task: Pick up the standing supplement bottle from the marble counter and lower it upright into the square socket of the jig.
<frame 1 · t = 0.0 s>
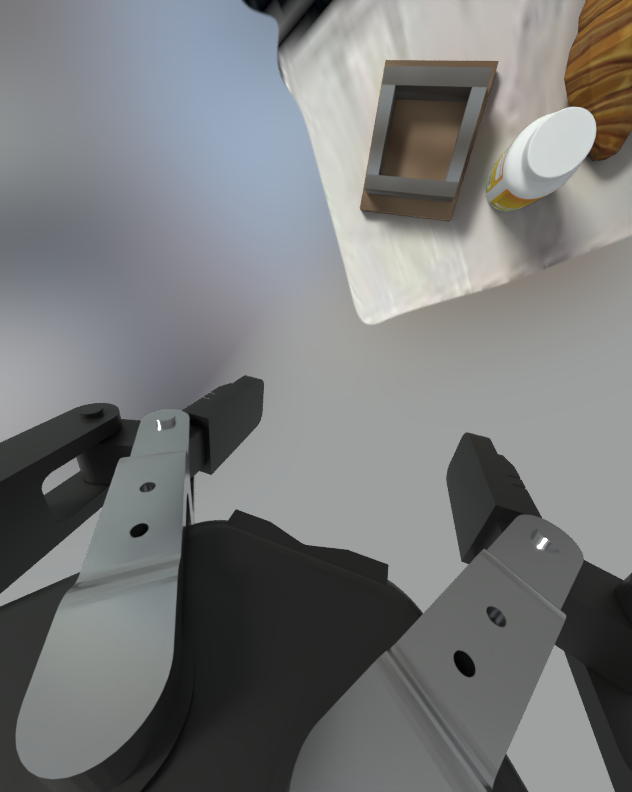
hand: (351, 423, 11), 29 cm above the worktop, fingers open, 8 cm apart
supplement bottle: (514, 181, 28), on the worktop
jig: (419, 148, 29), on the worktop
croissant: (599, 73, 24), on the worktop
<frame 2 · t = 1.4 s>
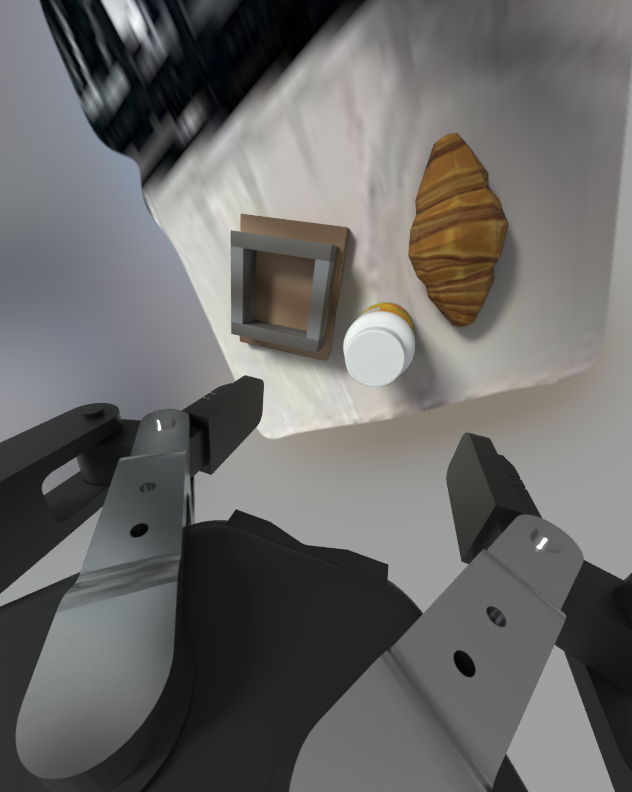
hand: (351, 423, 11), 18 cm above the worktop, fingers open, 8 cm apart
supplement bottle: (384, 330, 27), on the worktop
jig: (289, 291, 28), on the worktop
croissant: (450, 243, 23), on the worktop
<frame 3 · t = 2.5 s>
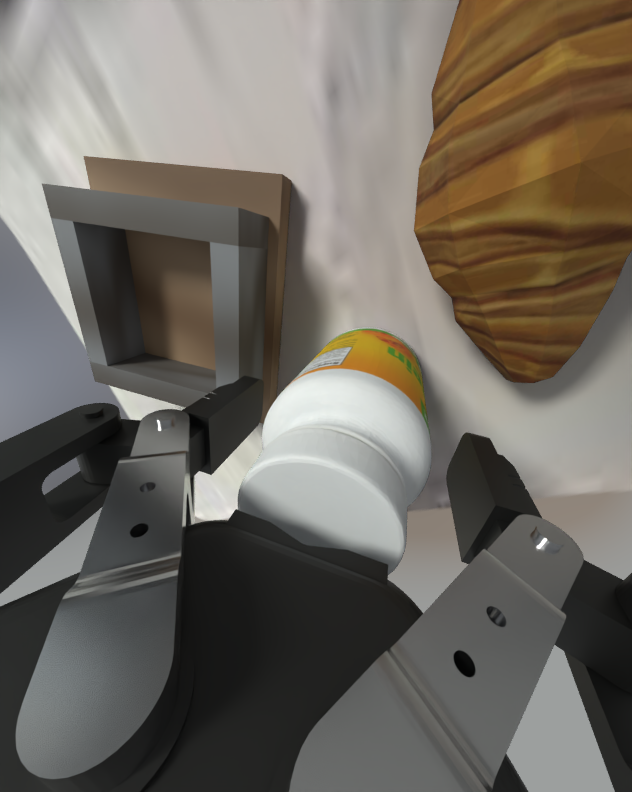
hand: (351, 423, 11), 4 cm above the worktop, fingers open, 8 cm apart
supplement bottle: (367, 375, 15), on the worktop
jig: (199, 304, 16), on the worktop
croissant: (505, 204, 11), on the worktop
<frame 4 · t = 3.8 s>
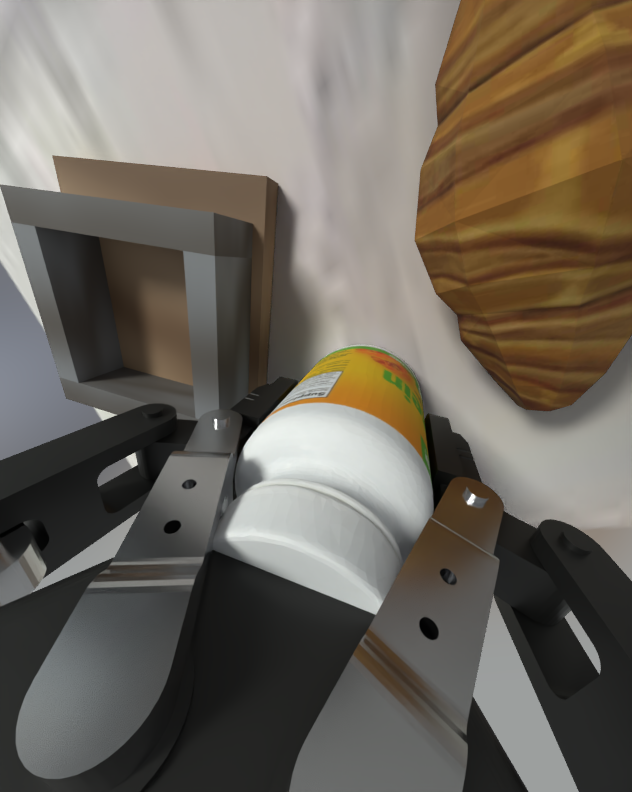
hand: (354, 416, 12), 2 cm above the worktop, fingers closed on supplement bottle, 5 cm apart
supplement bottle: (362, 395, 14), on the worktop, touching gripper
jig: (181, 316, 14), on the worktop
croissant: (517, 211, 9), on the worktop
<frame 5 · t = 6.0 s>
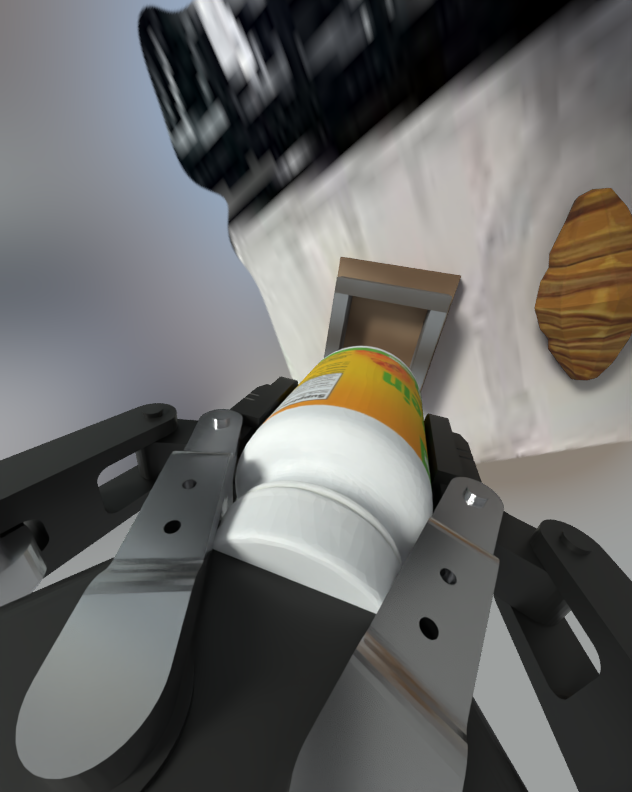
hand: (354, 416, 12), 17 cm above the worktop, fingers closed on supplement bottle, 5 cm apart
supplement bottle: (362, 396, 14), point 15 cm above the worktop, touching gripper
jig: (381, 333, 27), on the worktop
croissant: (574, 293, 22), on the worktop
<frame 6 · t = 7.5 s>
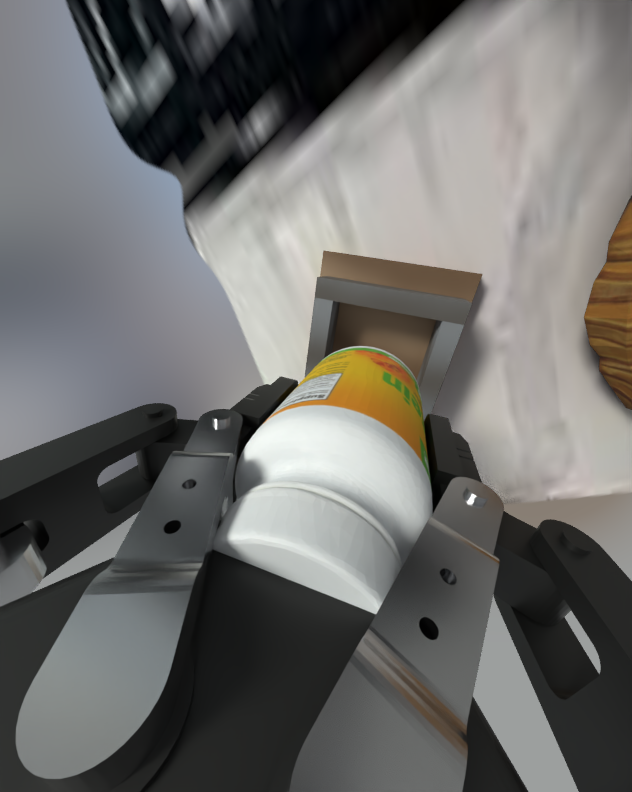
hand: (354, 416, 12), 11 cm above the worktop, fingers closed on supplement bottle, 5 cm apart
supplement bottle: (362, 396, 14), point 9 cm above the worktop, touching gripper
jig: (377, 348, 21), on the worktop
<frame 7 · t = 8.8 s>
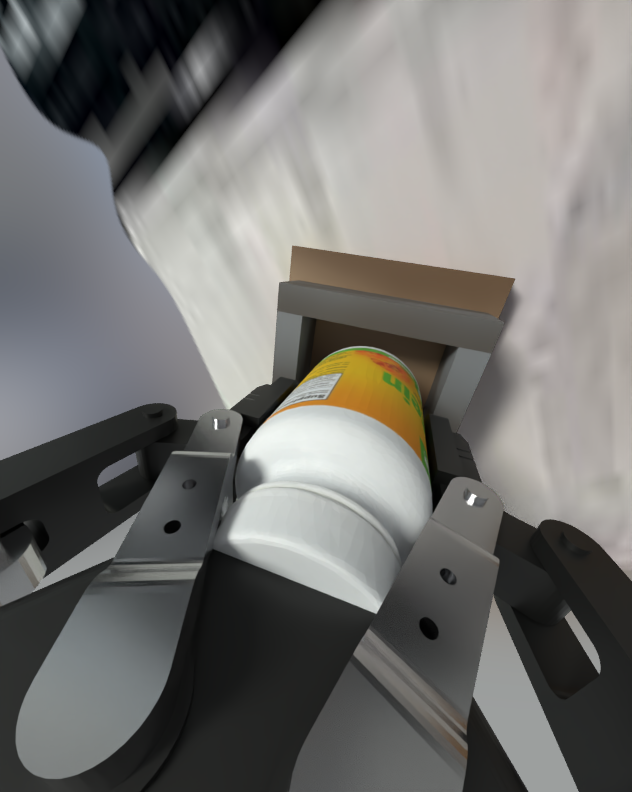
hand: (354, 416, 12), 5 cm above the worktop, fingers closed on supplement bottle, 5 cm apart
supplement bottle: (362, 396, 14), point 3 cm above the worktop, touching gripper
jig: (368, 374, 16), on the worktop
when the fingers open (5 cm above the worktop, at t = 9.8 s): supplement bottle drops 2 cm, resting on jig.
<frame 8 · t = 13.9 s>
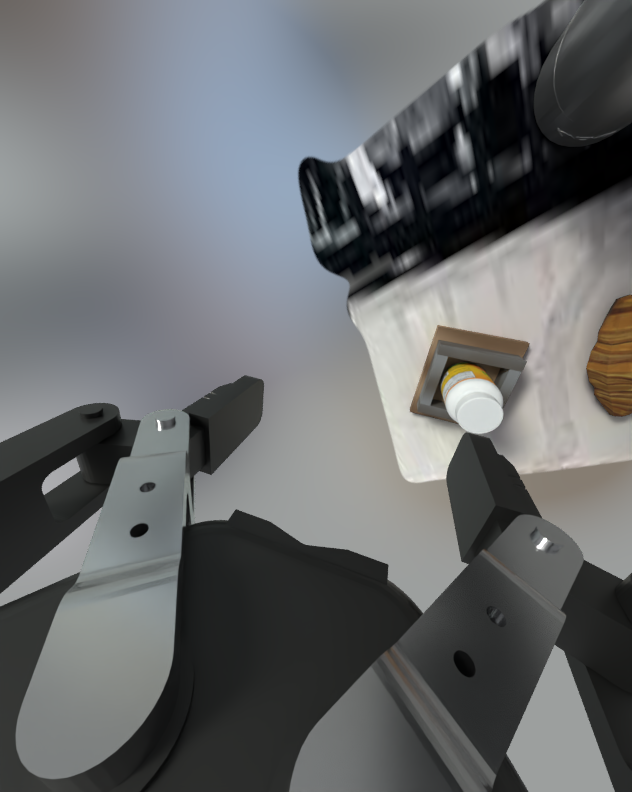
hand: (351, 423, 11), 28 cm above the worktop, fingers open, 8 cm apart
supplement bottle: (462, 380, 35), point 1 cm above the worktop, touching jig
jig: (462, 378, 36), on the worktop
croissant: (612, 356, 31), on the worktop
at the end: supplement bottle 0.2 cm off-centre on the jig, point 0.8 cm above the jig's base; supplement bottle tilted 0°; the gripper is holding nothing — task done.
